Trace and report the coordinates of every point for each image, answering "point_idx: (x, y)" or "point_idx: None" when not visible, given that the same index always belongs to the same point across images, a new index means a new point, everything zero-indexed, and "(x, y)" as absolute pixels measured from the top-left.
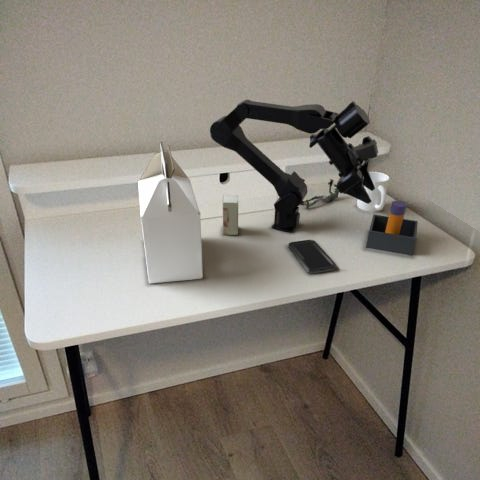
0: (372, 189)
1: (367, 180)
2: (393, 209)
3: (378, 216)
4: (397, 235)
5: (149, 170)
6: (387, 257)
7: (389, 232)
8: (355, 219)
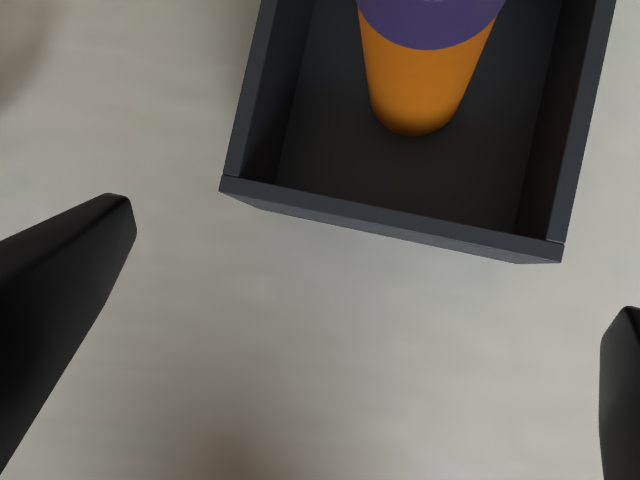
0: (129, 229)
1: (13, 331)
2: (496, 1)
3: (245, 152)
4: (605, 28)
5: None
6: (604, 128)
7: (464, 87)
8: None
